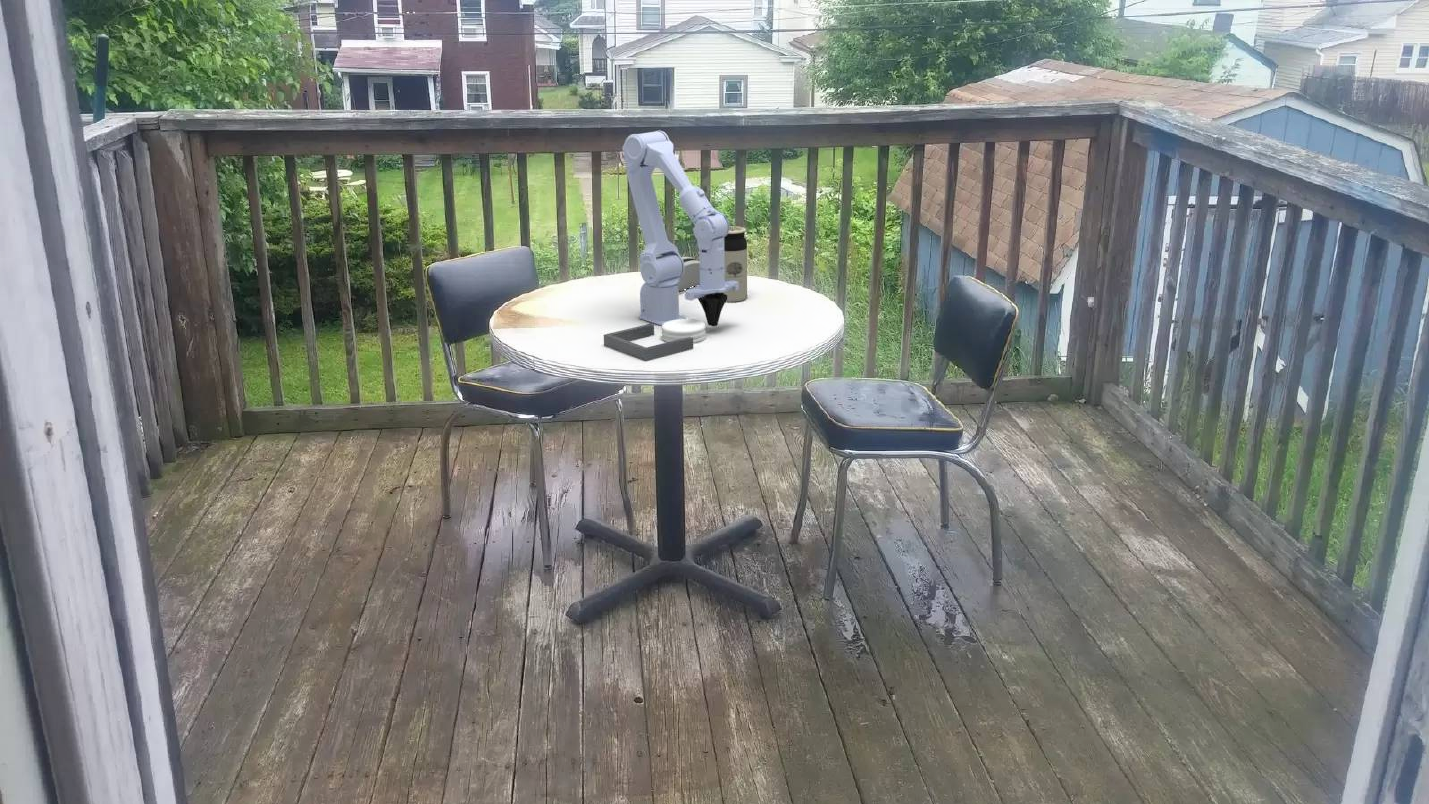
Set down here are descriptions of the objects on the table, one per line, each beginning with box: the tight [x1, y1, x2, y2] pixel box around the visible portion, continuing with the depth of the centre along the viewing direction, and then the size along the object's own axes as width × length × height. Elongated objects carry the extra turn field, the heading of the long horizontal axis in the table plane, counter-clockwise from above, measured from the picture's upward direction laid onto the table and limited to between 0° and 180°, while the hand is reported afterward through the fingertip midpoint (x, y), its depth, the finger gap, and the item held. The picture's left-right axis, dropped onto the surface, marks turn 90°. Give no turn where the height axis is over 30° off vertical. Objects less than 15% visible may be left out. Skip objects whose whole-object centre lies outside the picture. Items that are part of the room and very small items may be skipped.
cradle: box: [603, 323, 694, 362], centre depth 248 cm, size 15×13×2 cm
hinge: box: [678, 256, 700, 292], centre depth 294 cm, size 17×5×10 cm, turn 144°
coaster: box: [661, 318, 707, 344], centre depth 254 cm, size 10×10×4 cm
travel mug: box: [724, 225, 748, 303], centre depth 284 cm, size 8×8×18 cm
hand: (712, 324), depth 259 cm, fingers closed
